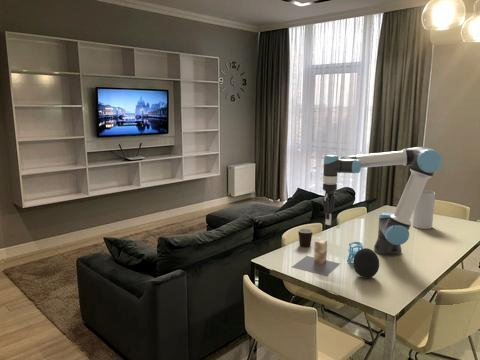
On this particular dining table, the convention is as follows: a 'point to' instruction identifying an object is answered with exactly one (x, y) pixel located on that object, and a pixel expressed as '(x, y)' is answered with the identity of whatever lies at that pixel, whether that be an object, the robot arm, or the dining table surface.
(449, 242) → the dining table surface
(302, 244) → the coffee mug
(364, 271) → the decorative egg
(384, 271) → the dining table surface
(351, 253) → the chair
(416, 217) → the cylinder vase
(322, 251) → the wood block
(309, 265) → the mat
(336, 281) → the dining table surface
